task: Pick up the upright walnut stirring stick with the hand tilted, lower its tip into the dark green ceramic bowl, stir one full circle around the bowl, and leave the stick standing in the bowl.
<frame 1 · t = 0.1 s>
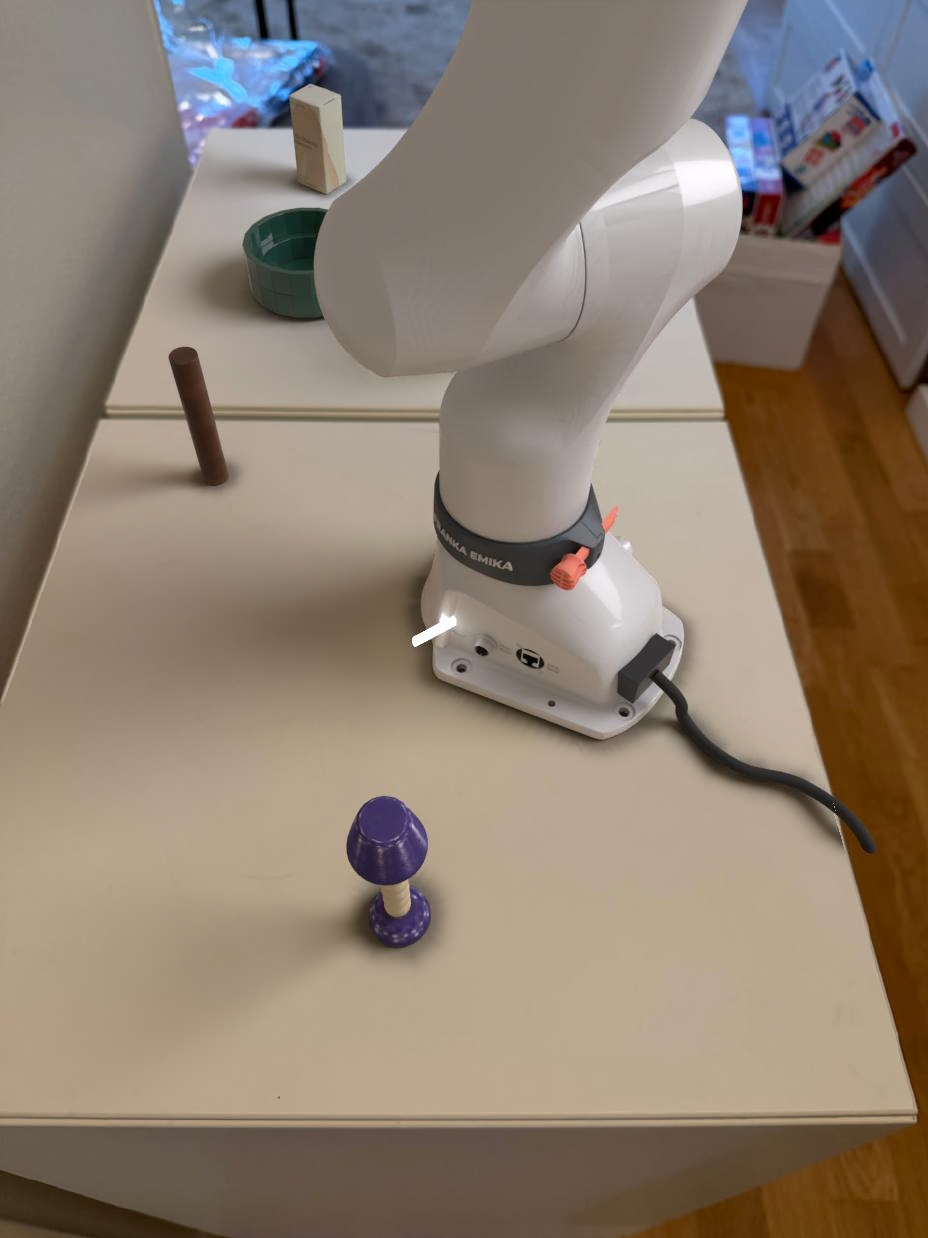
bowl: (310, 287, 107), on the cabinet top
box: (323, 183, 121), on the cabinet top
stirring stick: (216, 476, 88), on the cabinet top
toy lamp: (397, 921, 63), on the cabinet top
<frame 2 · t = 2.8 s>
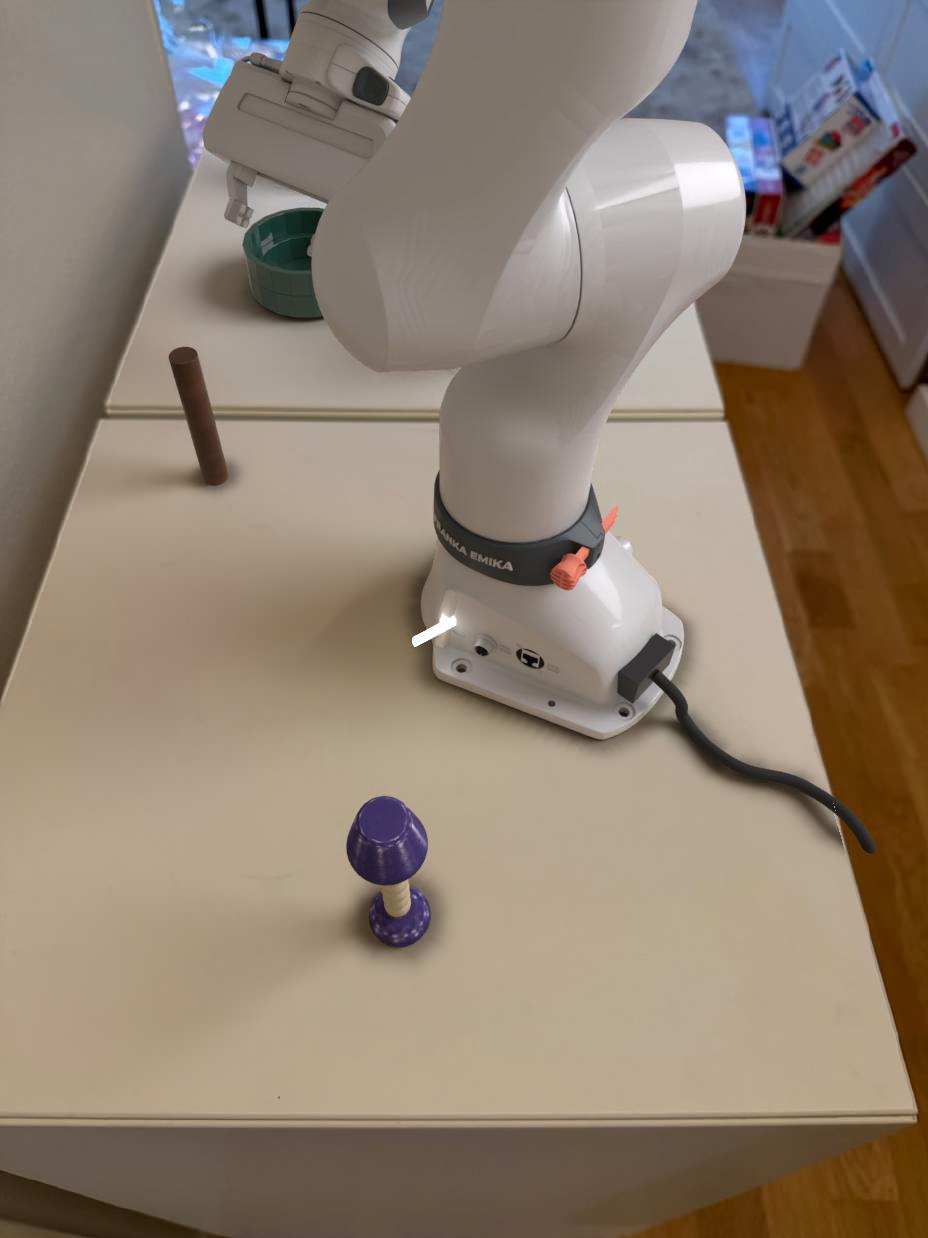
hand: (275, 241, 80), 18 cm above the cabinet top, tool tilted 45°, fingers open, 8 cm apart
nothing on the cabinet top moved.
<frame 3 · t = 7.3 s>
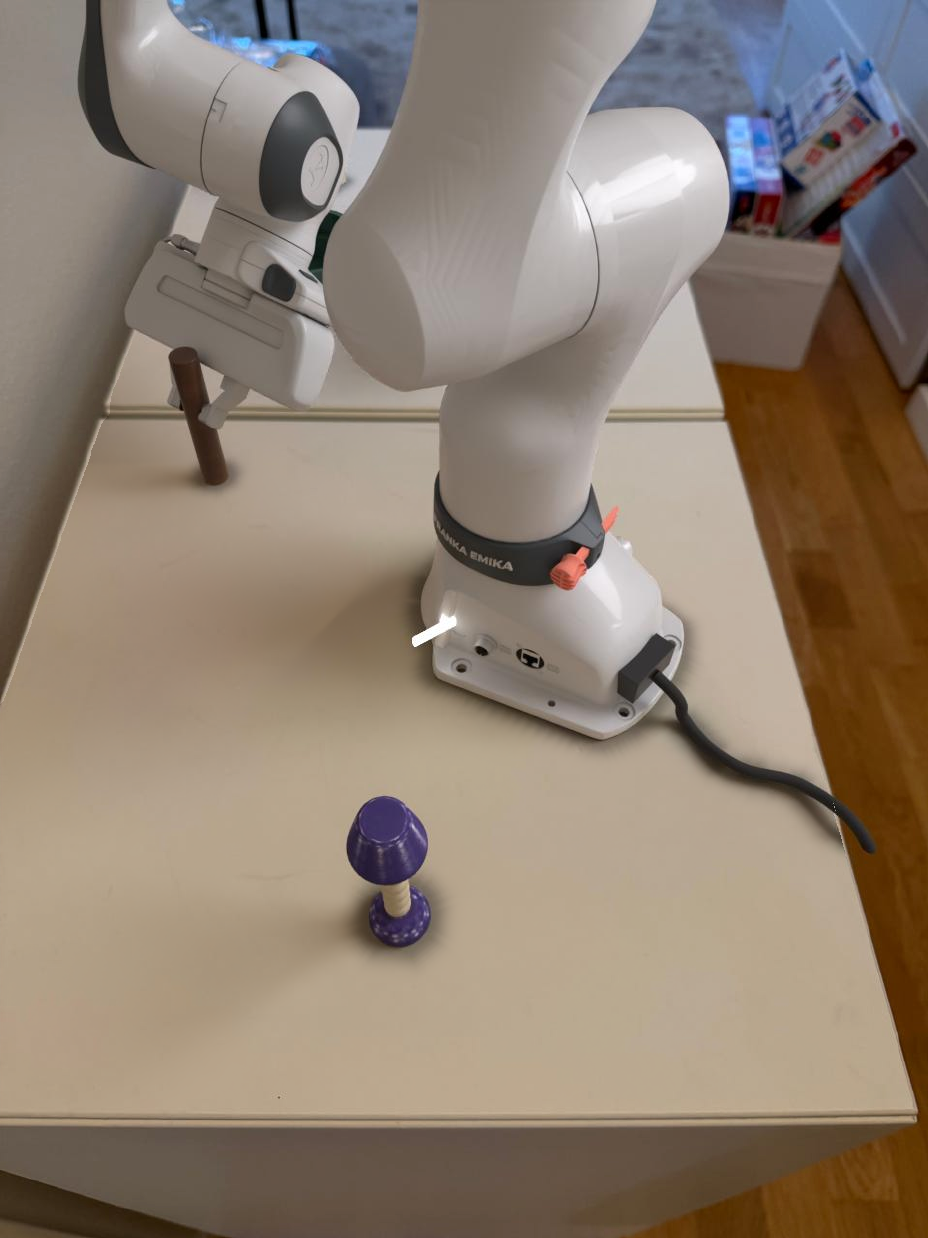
hand: (193, 417, 82), 8 cm above the cabinet top, tool tilted 45°, fingers closed on stirring stick, 2 cm apart
stirring stick: (216, 476, 88), on the cabinet top, touching gripper
everything else where it was.
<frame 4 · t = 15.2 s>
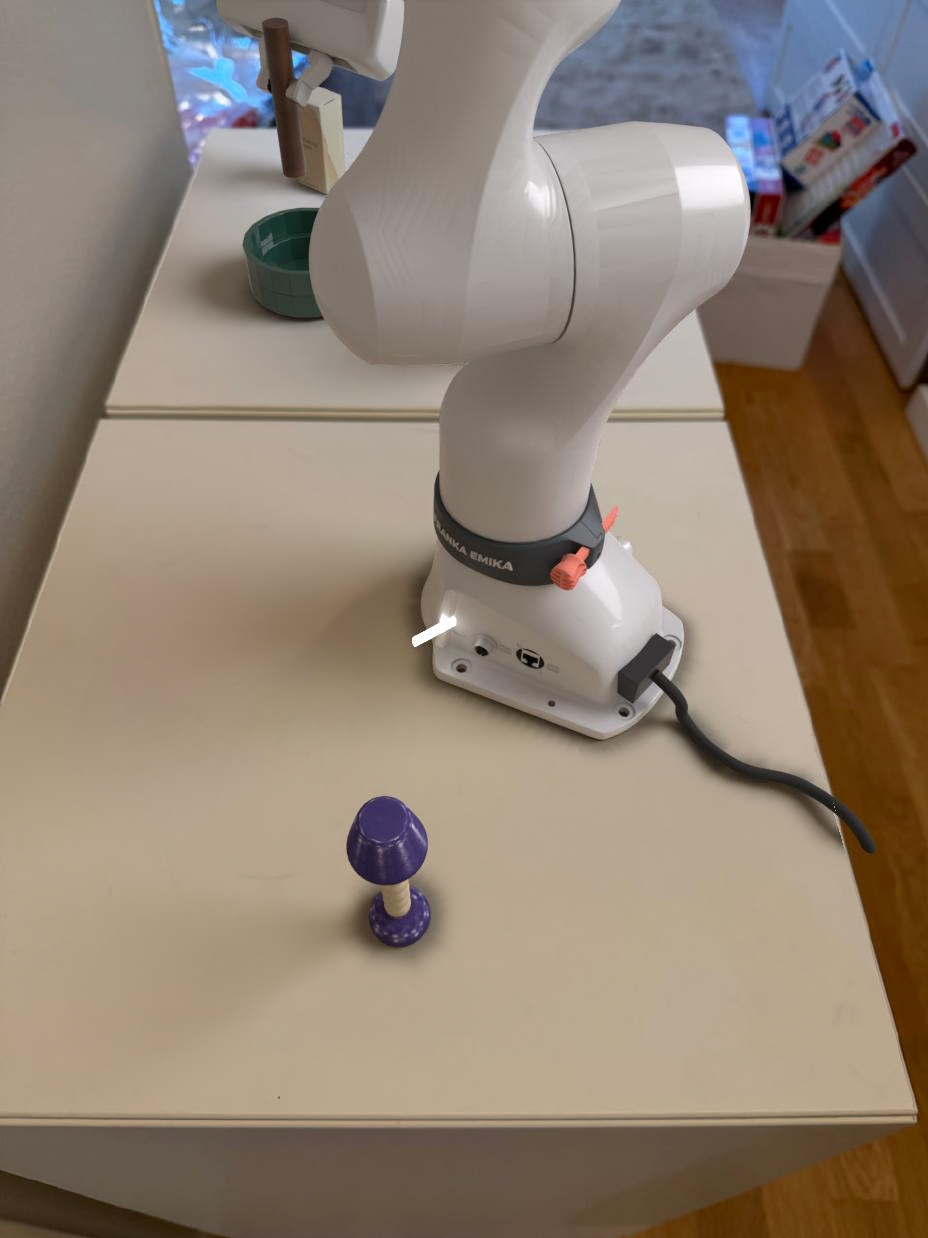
hand: (280, 96, 90), 21 cm above the cabinet top, tool tilted 45°, fingers closed on stirring stick, 2 cm apart
stirring stick: (294, 172, 96), point 14 cm above the cabinet top, touching gripper
everything else where it was.
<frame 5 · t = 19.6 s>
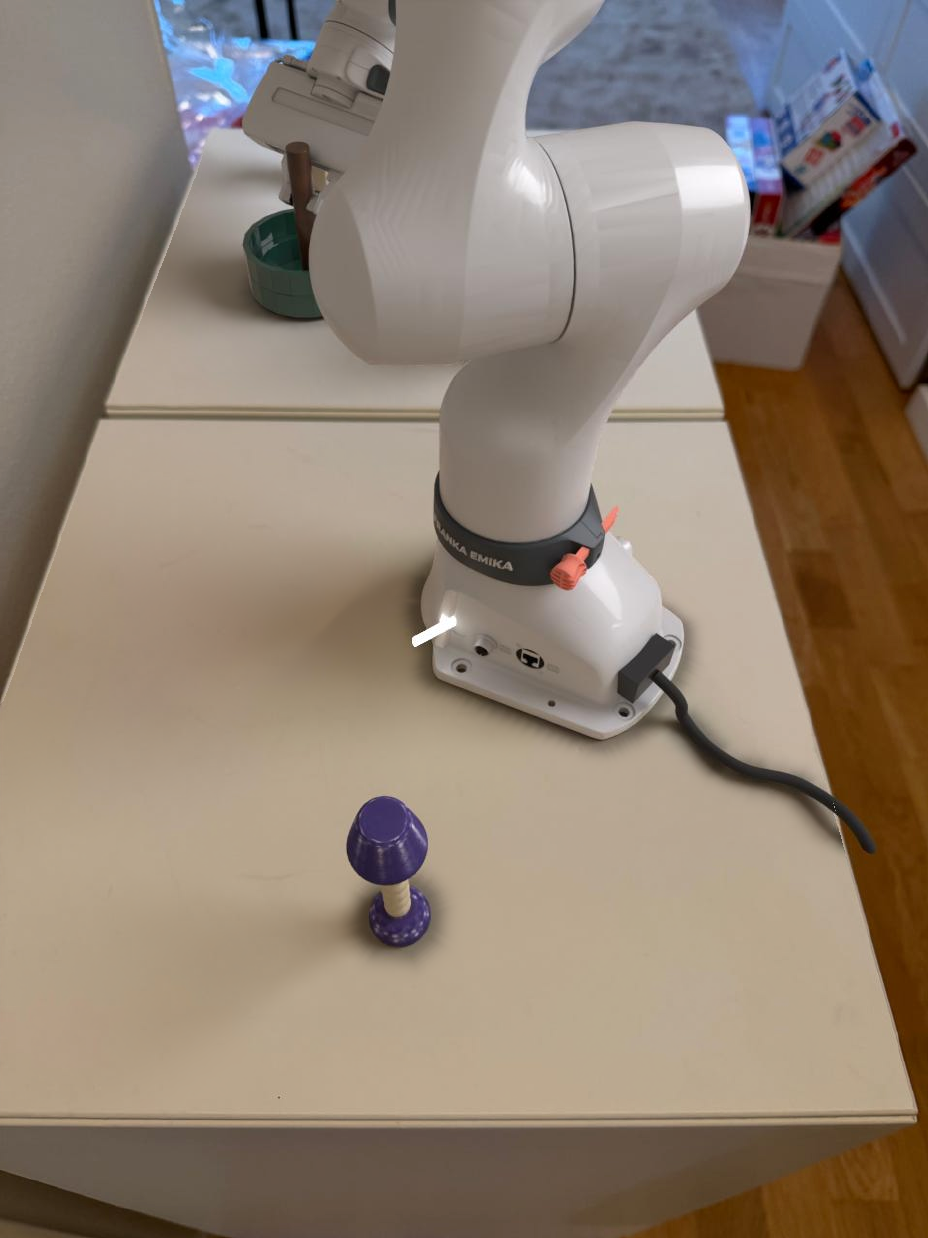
hand: (301, 209, 97), 11 cm above the cabinet top, tool tilted 45°, fingers closed on stirring stick, 2 cm apart
stirring stick: (313, 272, 103), point 3 cm above the cabinet top, touching gripper
everything else where it was.
when the fingers open (8 cm above the cabinet top, at t = 23.3 s): stirring stick stays where it is, resting on bowl.
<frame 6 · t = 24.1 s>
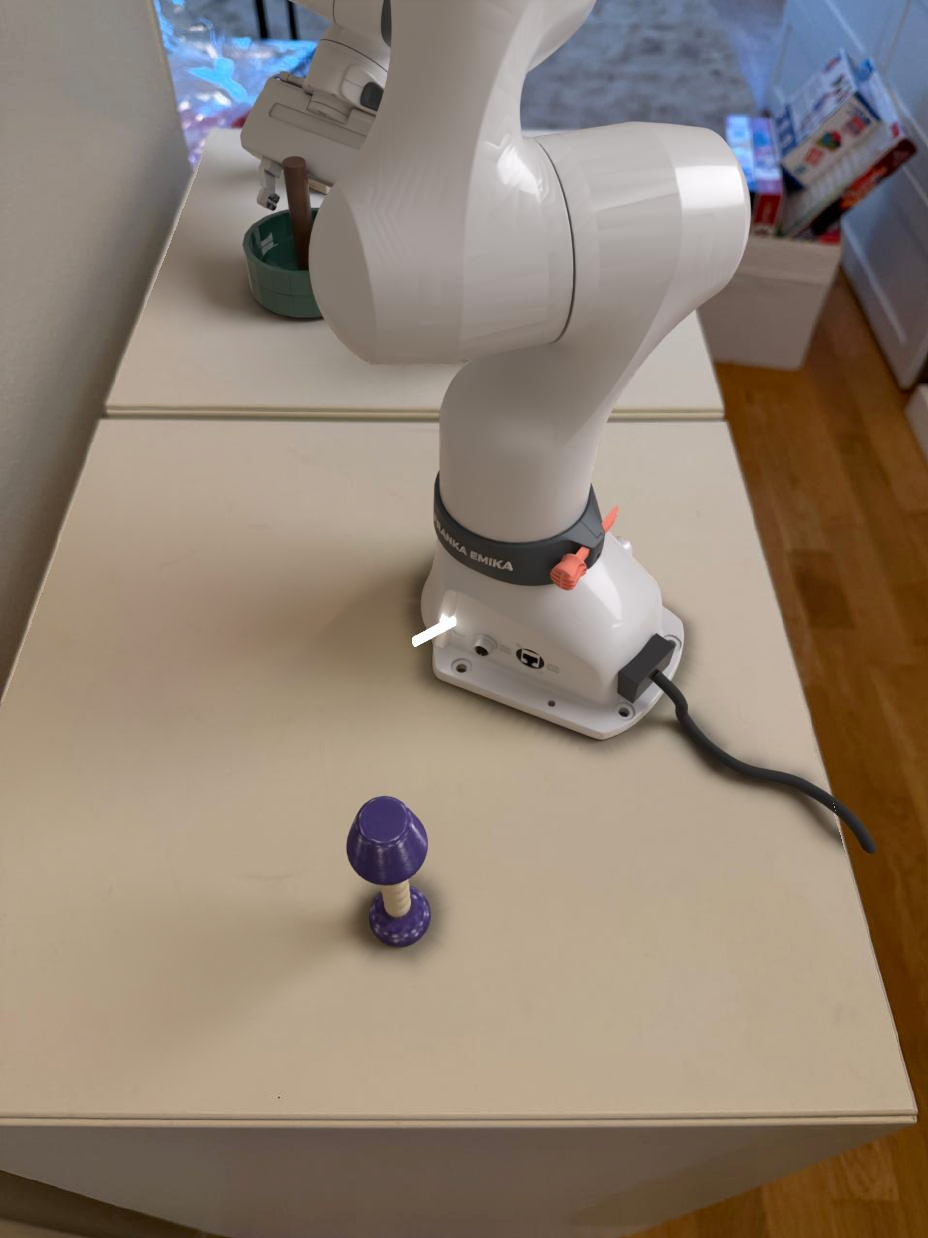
hand: (297, 220, 100), 8 cm above the cabinet top, tool tilted 45°, fingers open, 8 cm apart
stirring stick: (309, 282, 107), point 1 cm above the cabinet top, touching bowl
everything else where it was.
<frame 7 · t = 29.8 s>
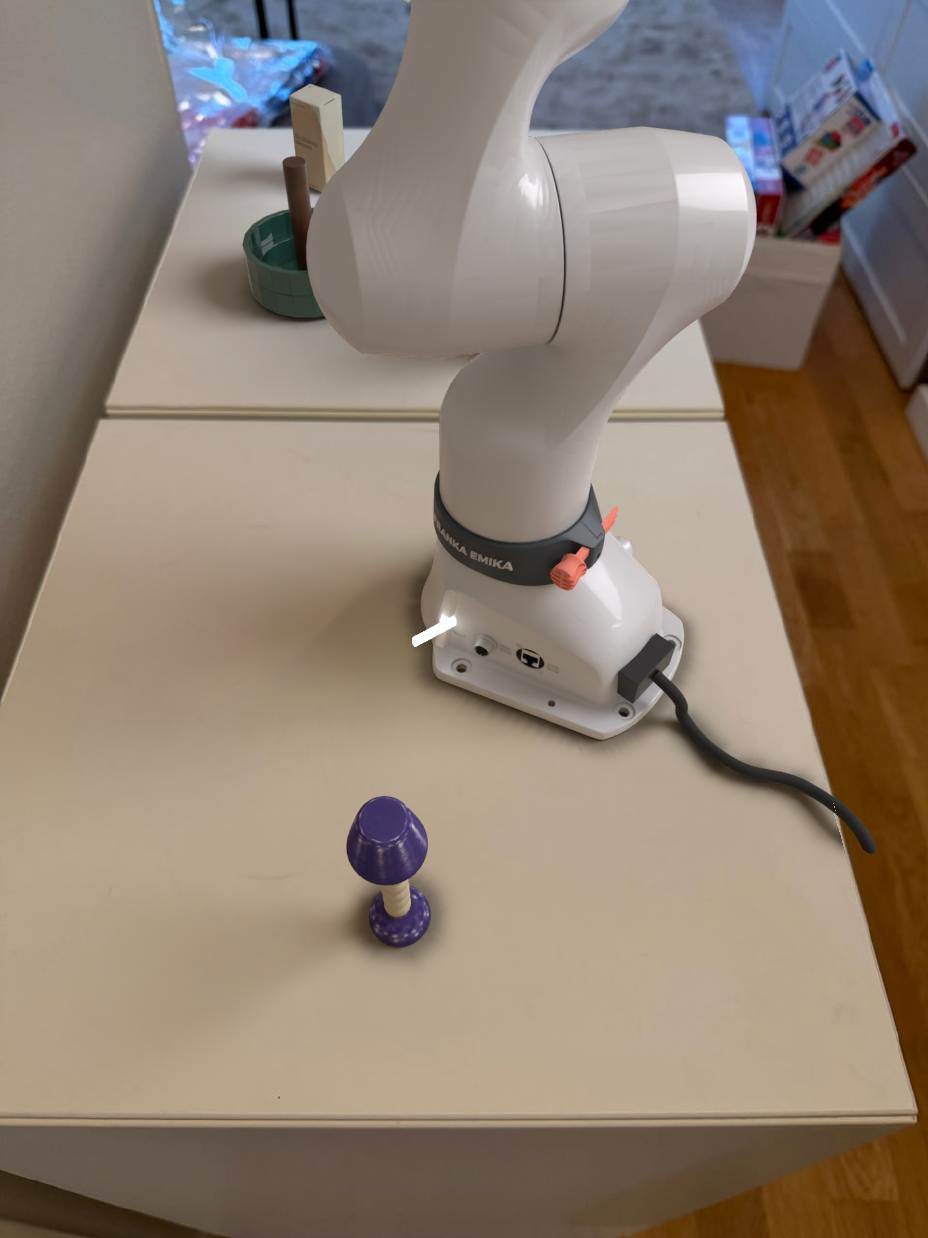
nothing on the cabinet top moved.
at the end: stirring stick inside the target area in the bowl (0.0 cm from its centre), point 0.6 cm above the bowl's base; stirring stick moved 31.8 cm from its start; the gripper is holding nothing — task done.
